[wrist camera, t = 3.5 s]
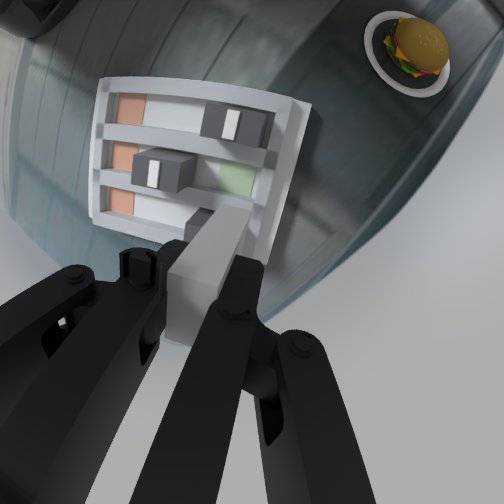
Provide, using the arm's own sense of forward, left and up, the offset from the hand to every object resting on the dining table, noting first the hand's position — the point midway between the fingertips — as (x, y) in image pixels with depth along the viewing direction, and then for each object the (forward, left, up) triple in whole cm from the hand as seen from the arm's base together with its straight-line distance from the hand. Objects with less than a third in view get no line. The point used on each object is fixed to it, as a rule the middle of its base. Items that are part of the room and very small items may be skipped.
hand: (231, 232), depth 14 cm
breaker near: (-2, +5, -10) cm, 11 cm away
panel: (-7, 0, -12) cm, 14 cm away
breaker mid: (-7, 0, -10) cm, 12 cm away
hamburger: (+10, +16, -13) cm, 23 cm away
